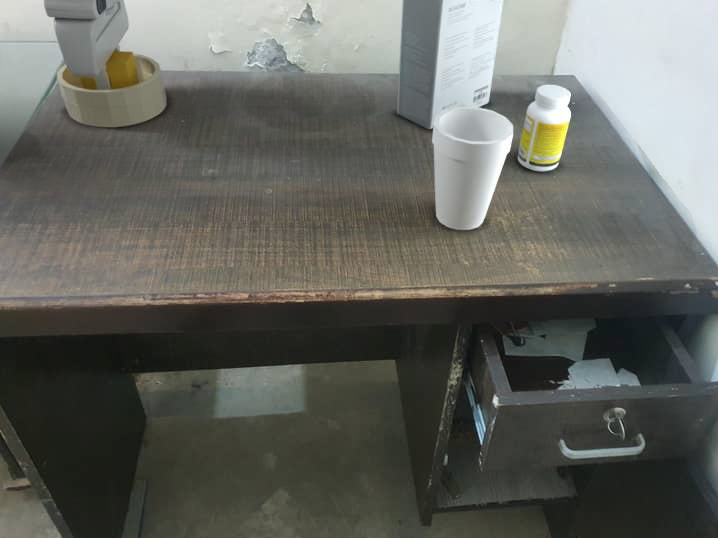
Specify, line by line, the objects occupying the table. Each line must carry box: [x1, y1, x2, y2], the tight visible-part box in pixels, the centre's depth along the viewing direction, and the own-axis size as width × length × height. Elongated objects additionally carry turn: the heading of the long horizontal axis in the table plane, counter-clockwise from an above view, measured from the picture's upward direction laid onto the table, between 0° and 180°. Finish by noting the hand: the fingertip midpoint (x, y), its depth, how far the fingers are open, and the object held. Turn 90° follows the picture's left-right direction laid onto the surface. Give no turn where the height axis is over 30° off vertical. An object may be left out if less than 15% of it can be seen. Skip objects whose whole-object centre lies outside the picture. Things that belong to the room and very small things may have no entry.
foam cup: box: [431, 107, 514, 231], centre depth 79 cm, size 10×9×13 cm
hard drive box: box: [396, 0, 504, 130], centre depth 99 cm, size 16×8×20 cm, turn 136°
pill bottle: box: [517, 84, 572, 172], centre depth 91 cm, size 6×6×11 cm
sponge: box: [80, 50, 139, 90], centre depth 96 cm, size 7×4×6 cm, turn 94°
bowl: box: [56, 53, 168, 128], centre depth 98 cm, size 15×15×6 cm
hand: (110, 81), depth 97 cm, fingers closed on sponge, 4 cm apart
